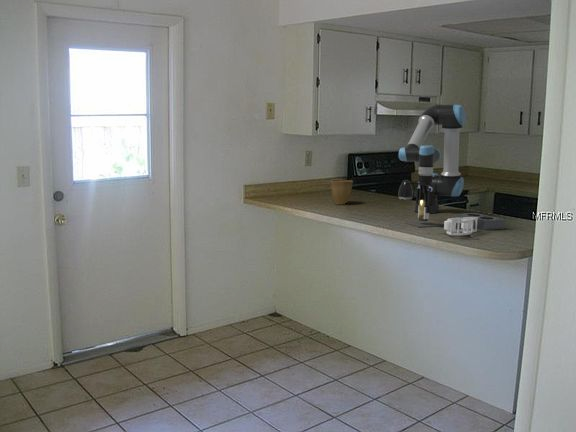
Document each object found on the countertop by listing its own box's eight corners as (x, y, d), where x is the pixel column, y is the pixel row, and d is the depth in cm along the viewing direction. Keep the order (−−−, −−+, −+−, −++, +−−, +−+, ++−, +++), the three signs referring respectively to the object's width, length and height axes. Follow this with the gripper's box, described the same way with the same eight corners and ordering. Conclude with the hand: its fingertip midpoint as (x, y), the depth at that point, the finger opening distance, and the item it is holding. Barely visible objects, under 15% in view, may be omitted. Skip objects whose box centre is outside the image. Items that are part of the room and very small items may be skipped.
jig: (455, 222, 332) (456, 213, 331) (475, 221, 337) (476, 212, 336) (483, 230, 310) (484, 220, 309) (504, 229, 314) (505, 219, 313)
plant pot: (353, 206, 391) (354, 181, 389) (330, 205, 391) (331, 181, 389) (351, 203, 406) (352, 179, 403) (329, 202, 406) (329, 179, 404)
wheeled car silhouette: (469, 229, 311) (470, 215, 309) (484, 233, 301) (485, 219, 300) (438, 232, 302) (439, 217, 301) (453, 236, 292) (454, 221, 291)
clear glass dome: (405, 202, 414) (406, 180, 411) (394, 201, 422) (395, 179, 420) (415, 201, 420) (417, 180, 417) (404, 200, 428) (405, 178, 426)
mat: (404, 223, 327) (404, 222, 327) (426, 222, 332) (426, 221, 331) (418, 227, 314) (418, 226, 314) (441, 226, 318) (441, 225, 318)
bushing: (416, 219, 324) (417, 199, 322) (424, 219, 326) (425, 199, 324) (421, 221, 319) (422, 200, 318) (429, 220, 321) (430, 200, 319)
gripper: (410, 173, 326) (408, 215, 329) (428, 176, 309) (426, 221, 313) (422, 173, 328) (420, 215, 332) (441, 176, 311) (438, 220, 315)
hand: (423, 217), depth 322 cm, fingers closed on bushing, 5 cm apart
